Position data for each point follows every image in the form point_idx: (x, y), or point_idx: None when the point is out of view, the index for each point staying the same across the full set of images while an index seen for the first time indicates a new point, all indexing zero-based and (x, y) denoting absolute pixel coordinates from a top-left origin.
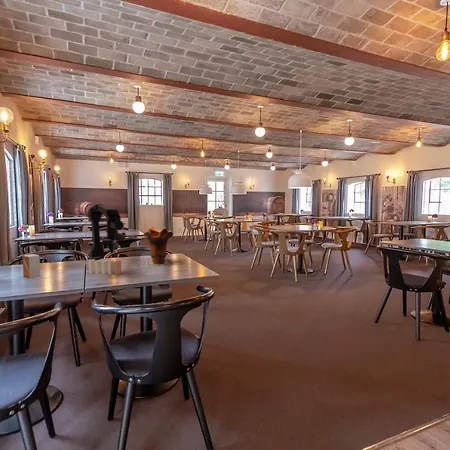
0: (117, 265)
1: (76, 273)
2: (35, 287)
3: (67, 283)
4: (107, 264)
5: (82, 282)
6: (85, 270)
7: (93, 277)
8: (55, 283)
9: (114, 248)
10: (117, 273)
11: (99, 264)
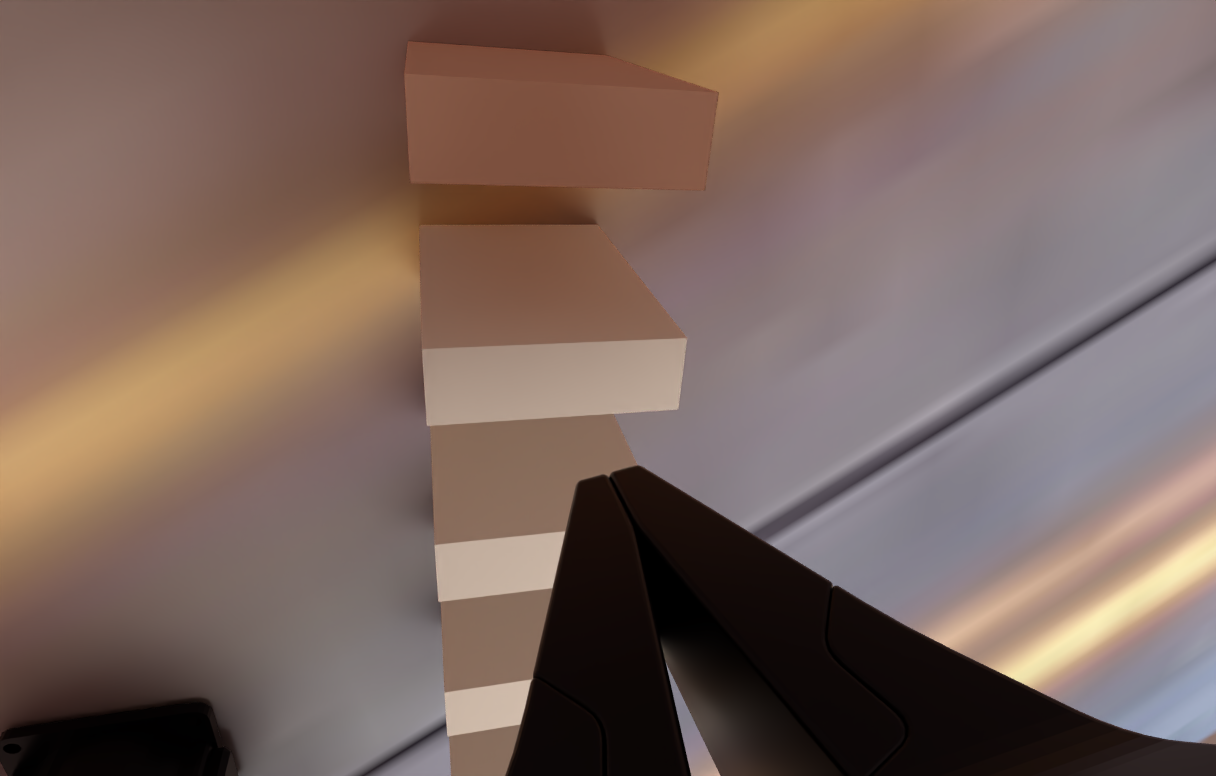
0: (642, 77)
1: None
2: (1181, 634)
3: (1110, 486)
4: (468, 466)
5: (1107, 351)
6: (397, 758)
7: (835, 386)
8: (1078, 592)
9: (559, 648)
10: (599, 56)
11: (535, 601)
